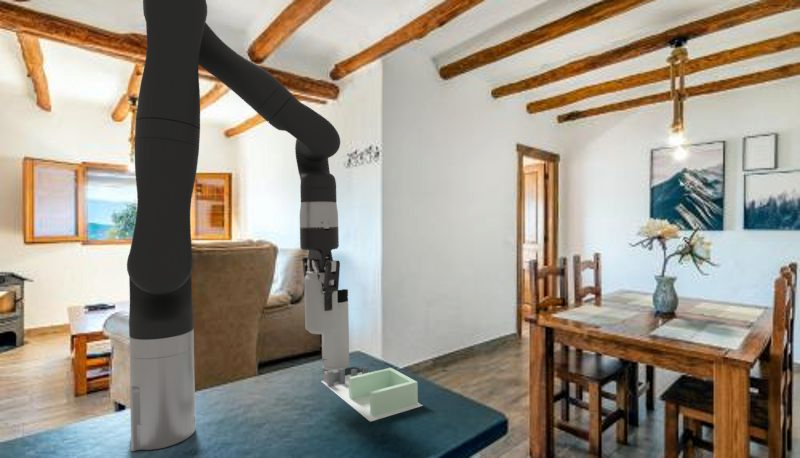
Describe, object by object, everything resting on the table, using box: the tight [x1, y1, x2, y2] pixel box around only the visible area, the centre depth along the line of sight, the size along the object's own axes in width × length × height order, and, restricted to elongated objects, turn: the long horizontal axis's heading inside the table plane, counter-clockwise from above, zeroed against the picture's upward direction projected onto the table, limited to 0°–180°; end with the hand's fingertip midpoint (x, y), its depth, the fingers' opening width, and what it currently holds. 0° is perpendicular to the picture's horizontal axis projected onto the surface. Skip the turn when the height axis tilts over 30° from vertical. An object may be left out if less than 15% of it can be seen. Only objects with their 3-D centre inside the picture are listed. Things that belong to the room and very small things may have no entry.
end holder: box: [349, 367, 419, 417], centre depth 79 cm, size 10×10×4 cm
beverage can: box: [303, 271, 338, 335], centre depth 83 cm, size 6×6×12 cm
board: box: [320, 366, 424, 422], centre depth 83 cm, size 11×22×4 cm, turn 33°
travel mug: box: [321, 288, 350, 373], centre depth 98 cm, size 6×7×20 cm
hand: (321, 310), depth 83 cm, fingers closed on beverage can, 5 cm apart
